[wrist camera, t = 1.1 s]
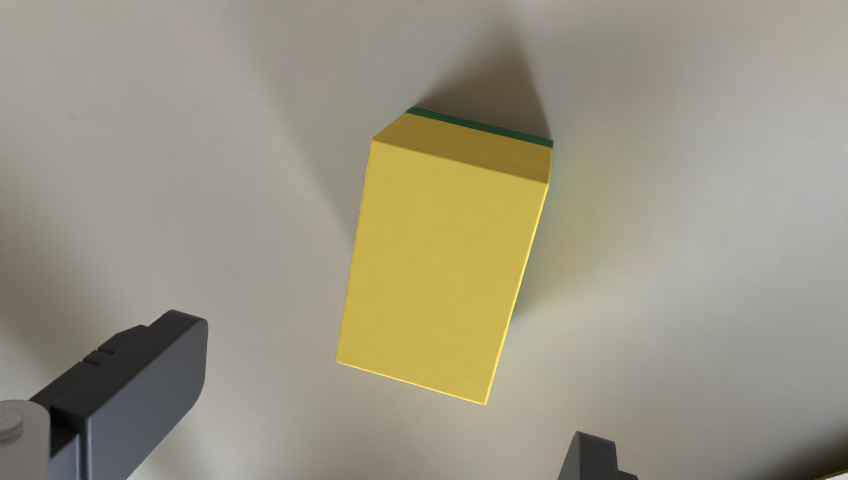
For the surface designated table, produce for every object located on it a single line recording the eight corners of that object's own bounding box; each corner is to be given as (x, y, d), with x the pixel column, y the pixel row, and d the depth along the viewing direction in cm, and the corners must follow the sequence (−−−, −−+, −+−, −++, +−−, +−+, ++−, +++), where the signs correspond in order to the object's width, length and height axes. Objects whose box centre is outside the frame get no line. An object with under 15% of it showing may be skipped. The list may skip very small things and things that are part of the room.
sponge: (411, 106, 22) (370, 137, 18) (553, 140, 21) (550, 182, 17) (376, 294, 25) (334, 362, 20) (500, 328, 24) (485, 406, 20)
